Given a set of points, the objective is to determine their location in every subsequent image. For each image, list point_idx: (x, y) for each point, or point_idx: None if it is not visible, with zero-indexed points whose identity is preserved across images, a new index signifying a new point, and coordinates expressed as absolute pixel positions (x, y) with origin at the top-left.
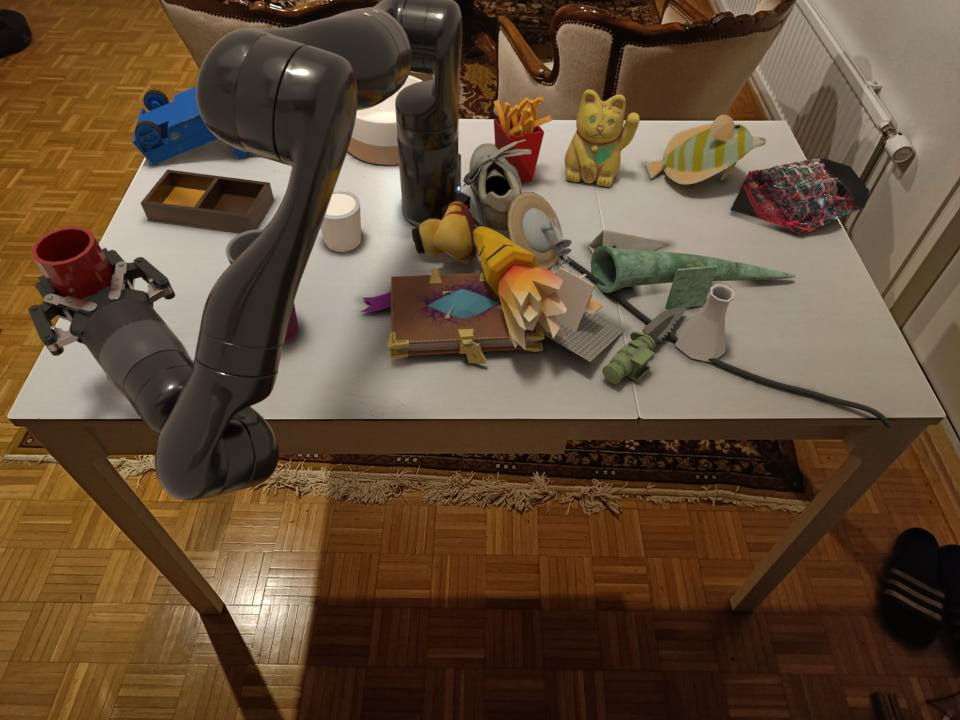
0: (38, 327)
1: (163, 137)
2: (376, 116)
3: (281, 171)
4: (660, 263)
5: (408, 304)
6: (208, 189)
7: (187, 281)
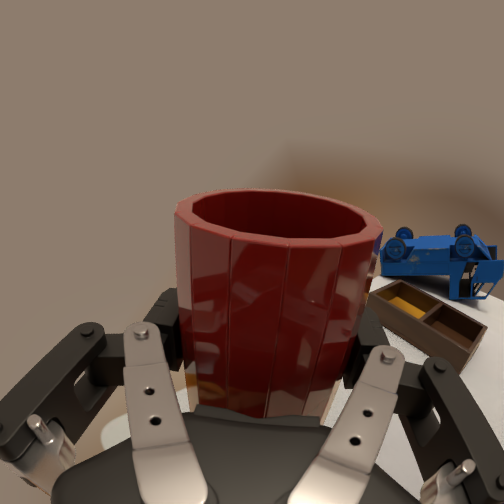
0: (23, 385)
1: (402, 258)
2: None
3: (482, 323)
4: None
5: None
6: (433, 309)
7: None
